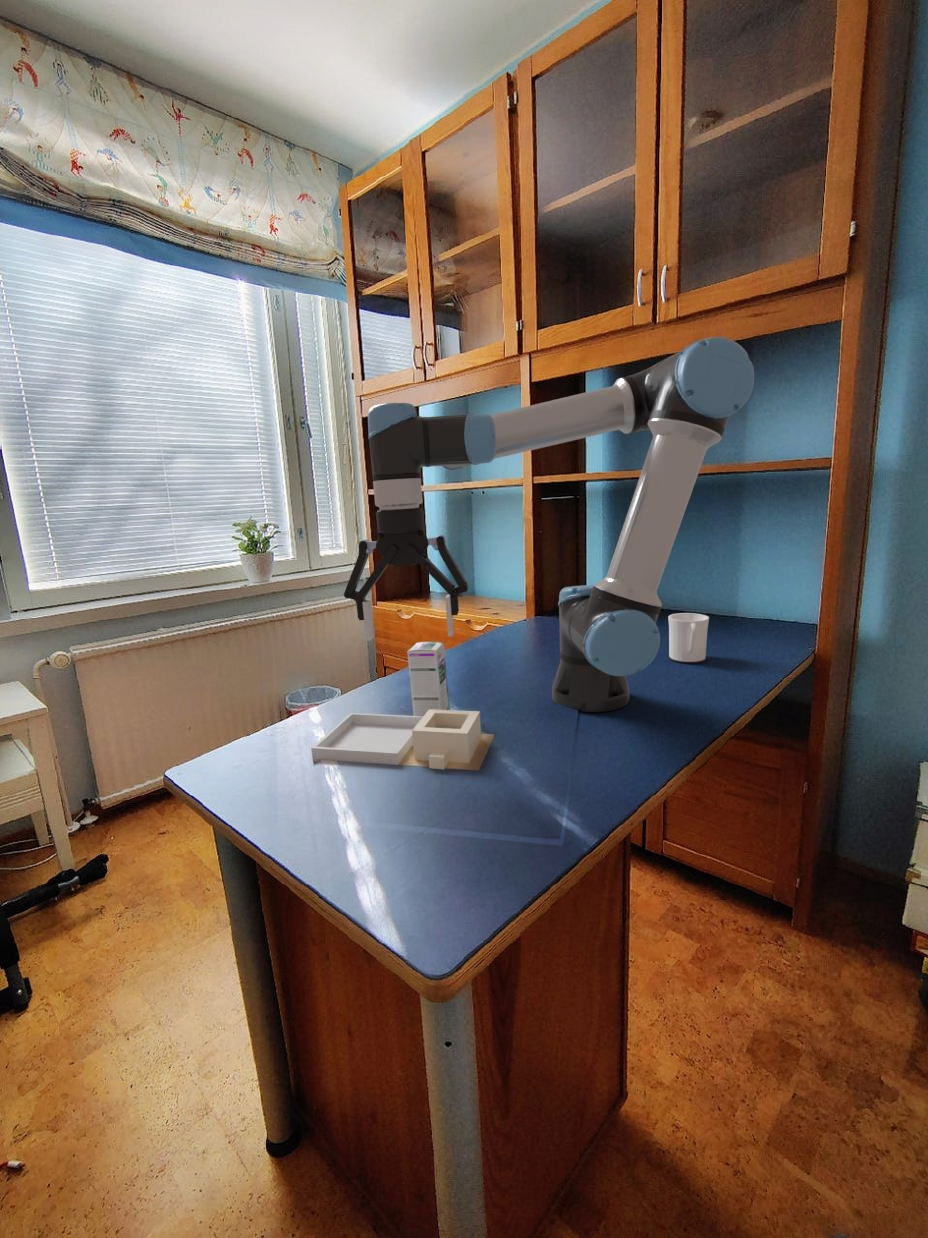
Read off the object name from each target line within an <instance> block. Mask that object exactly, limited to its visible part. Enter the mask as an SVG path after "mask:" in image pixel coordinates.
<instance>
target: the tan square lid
mask: <svg viewBox="0 0 928 1238" xmlns="http://www.w3.org/2000/svg"><path fill="white" fill-rule="evenodd" d="M450 729H456V728H450ZM495 737H496V735H495V734H492V733H481V740H480V742H479V744H478V746H477V748H476V750H475V752H474V754H473V756H472V758H471V760H470V762H469V763H458V762H448V764H447V766H446V767H445V769H450V770H451V769H452V770H453V769H454V770H467V771H480V768H481V766H482V765H483V762H484V760H485V758H486V756H487V753H488V751H489V749H490V746H491V744H492V742H493V740H494V738H495ZM398 766H406V767H407V766H409V767H423V768H429V761H428V760H414V747H413V746H412V747H411V748H410V750H409V751H408V752H407V754H406V755H405V756H404V758H403V759H402V760H401V762H400V763H399V765H398Z"/></svg>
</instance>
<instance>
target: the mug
mask: <svg viewBox="0 0 928 1238" xmlns="http://www.w3.org/2000/svg"><path fill="white" fill-rule="evenodd" d="M667 617H668V618H667V619H668V629H669V630H668V638H669V639H668V642H669V643H668V644H669V645H668V649H669V651H668V658H669V660H670V661H671V662H674V663H678V664H683V665H697V664H702V663H704V662H705V660H706V657H707V656H706V655H707V640H708V639H707V638H708V628H709V620H710V616H708V615H706V614H701V613H693V612H682V613H681V612H679V613H672V614H669V615H668V616H667Z"/></svg>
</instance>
